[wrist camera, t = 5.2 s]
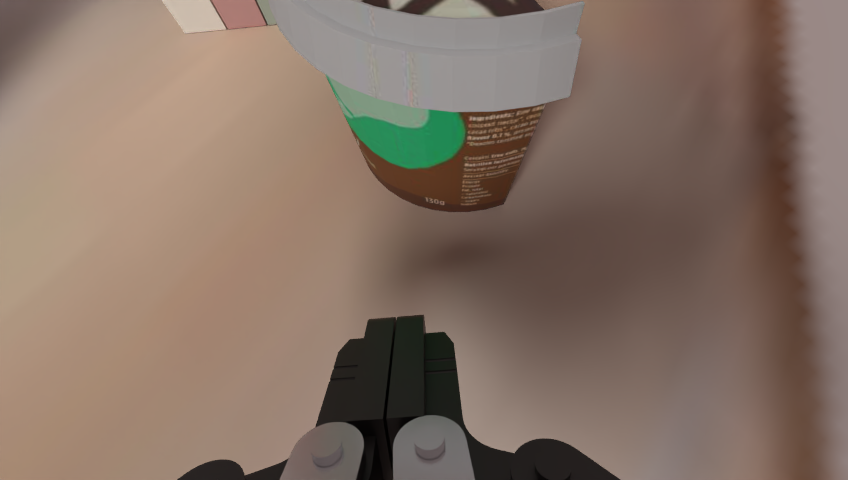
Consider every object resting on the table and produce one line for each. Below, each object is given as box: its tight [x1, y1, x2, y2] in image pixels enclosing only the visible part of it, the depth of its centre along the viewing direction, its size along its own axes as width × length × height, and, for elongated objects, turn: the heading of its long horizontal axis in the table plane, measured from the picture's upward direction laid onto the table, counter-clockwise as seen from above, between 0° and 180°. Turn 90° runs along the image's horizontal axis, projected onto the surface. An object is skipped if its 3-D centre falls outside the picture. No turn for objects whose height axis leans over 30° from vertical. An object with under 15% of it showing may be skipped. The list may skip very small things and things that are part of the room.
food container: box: [268, 0, 585, 212], centre depth 15 cm, size 12×6×10 cm, turn 20°
